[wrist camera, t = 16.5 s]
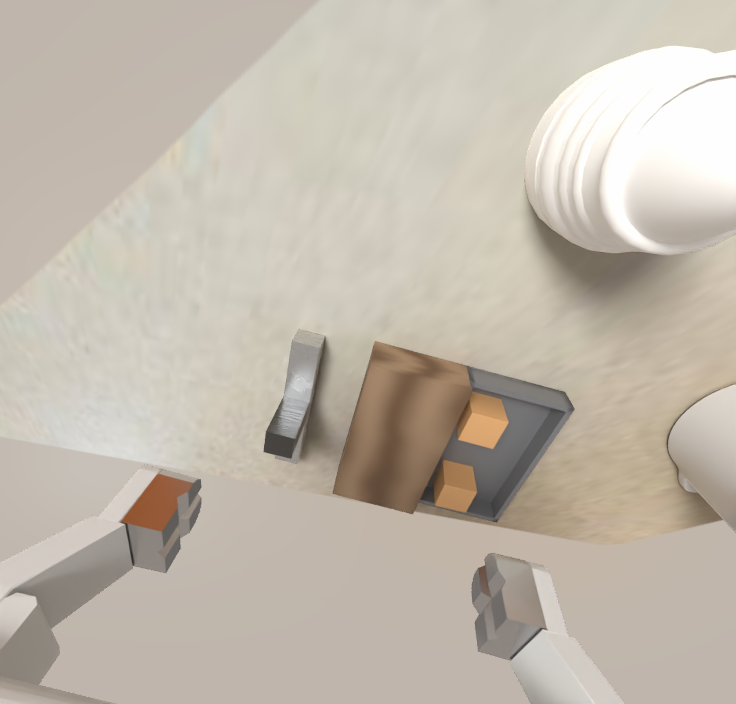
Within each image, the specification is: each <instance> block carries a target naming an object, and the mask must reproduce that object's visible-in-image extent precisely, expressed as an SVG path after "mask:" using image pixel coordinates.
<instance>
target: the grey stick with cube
mask: <svg viewBox="0 0 736 704" xmlns="http://www.w3.org/2000/svg"><path fill="white" fill-rule="evenodd" d="M324 340H325V336H324V335H320V334H316V333H312V332H308V331H304V330H301V329H299V330H298V332H297V333H296V335H295V337H294V338H293V340H292V345H291V351H290V358H289V365H288V372H287V379H286V385H285V392H284V397H283V399H282V401H281V403H280V405H279V407H278V409H277V411H276V413H275V415H274V417H273V419H272V421H271V423H270V425H269V427H268V429H267V431H266V437H265V445H264V452H266V453H270V454H274V455H275V459H279V460H283V461H287V462H291V463H295V464H297V463H298V461H299V458H300V455H301V452H302V449H303V445H304V440H305V435H306V430H307V425H308V420H309V415H310V410H311V405H312V400H313V395H314V390H315V385H316V380H317V375H318V370H319V365H320V360H321V355H322V350H323V345H324Z"/></svg>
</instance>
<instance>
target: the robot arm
mask: <svg viewBox="0 0 736 704" xmlns="http://www.w3.org/2000/svg"><path fill="white" fill-rule="evenodd" d="M668 450H669V454H670V456H671V458H672V460H673V461H674V462H675V464H676V465H677V467H678V469H679V477H678V478H679V483H680V485H681V486H682V487H683V488H684V489H685V490H686V491H688V492H693V493H699V494H700V495H701V496H702V497H703V498H704V499H705V500H706V501H707V503H708V504H709V505H710V506H711V507H712V508H713V509H714V510H715V511H716V512H717V513H718V514H719V515H720V517H721V518H722V519H723V520H724V521H725V522H726V523H727V524H728V525H729V526H730V527H731V528H732V529H733V530H734V531H735V532H736V384H735V385H732V386H729V387H726V388H723V389H721V390H719V391H716V392H714V393H712V394H710V395H708V396H707V397H705V398H703V399H702V400H700V401H699V402H697V403H696V404H694V405H693V406H692V407H690V408H689V409H688V410H687V411H686V412H685V413H684V414H683V415H682V416H681V417H680V418H679V419H678V421H677V422H676V423H675V425H674V427H673V429H672V430H671V433H670V436H669V440H668ZM200 489H201V479H197V478H194V477H190V476H186V475H182V474H179V473H175V472H171V471H167V470H164V469H160V468H157V467H153V466H149V465H144V466H142V467H141V468H140V469H138V470H137V472H136V473H135V474H134V475H133V476H132V477H131V479H130V480H129V481H128V482H127V483H126V485H125V486H124V487H123V488H122V489H121V490H120V491H119V493H118V494H117V495H116V496H115V497H114V499H113V500H112V501H111V502H110V504H109V505H108V506H107V507H106V508H105V509H104V510H103V512H102V513H101V514H100V515H99V517H95V516H91V517H89V518H87V519H85V520H83V521H81V522H79V523H77V524H75V525H73V526H71V527H69V528H67V529H65V530H63V531H61V532H60V533H57V534H56V535H54V536H52V537H50V538H48V539H46V540H44V541H42V542H40V543H38V544H36V545H34V546H32V547H30V548H28V549H26V550H24V551H22V552H20V553H18V554H16V555H14V556H13V557H10V558H9V559H7V560H5V561H3V562H1V563H0V704H114V703H110V702H106V701H102V700H98V699H94V698H90V697H86V696H82V695H77V694H74V693H70V692H66V691H61V690H58V689H53V688H49V687H45V686H41V685H39V684H40V682H41V681H42V679H43V678H44V676H45V675H46V673H47V672H48V670H49V669H50V667H51V666H52V664H53V663H54V661H55V660H56V658H57V657H58V656H59V653H60V651H59V645H58V643H57V641H56V638H55V636H54V634H53V632H52V630H51V628H53V627H54V626H55V625H57V624H58V623H59V622H61V621H62V620H64V619H65V618H66V617H68V616H69V615H70V614H72V613H73V612H74V611H76V610H77V609H78V608H80V607H81V606H82V605H84V604H85V603H87V602H88V601H89V600H91V599H92V598H93V597H95V596H96V595H97V594H99V593H100V592H101V591H103V590H104V589H105V588H107V587H108V586H110V585H111V584H112V583H114V582H115V581H116V580H118V579H119V578H120V577H122V576H123V575H124V574H126V573H127V572H128V571H130V570H131V569H132V568H133V566H136V567H141V568H145V569H150V570H154V571H159V572H163V573H166V572H167V570H168V569H169V567H170V566H171V564H172V562H173V560H174V559H175V557H176V555H177V554H178V552H179V550H180V538H182V537H183V536H185V535H187V534H188V533H190V531H191V529H192V527H193V526H194V524H195V522H196V519H197V517H198V514H199V512H200V508H201V497H200V495H199V494H198V492H199V490H200ZM472 602H473V605H474V607H475V608H476V610H477V612H478V613H479V616H478V618H477V619H476V621H475V629H476V637H477V646H478V651H479V652H482V653H486V654H489V655H493V656H496V657H500V658H503V659H507V660H510V662H509V663H510V665H511V667H512V668H513V670H514V672H515V674H516V676H517V678H518V680H519V682H520V684H521V686H522V687H523V689H524V691H525V693H526V695H527V697H528V699H529V701H530V703H531V704H624V702H623V701H622V700H621V698H620V697H619V696H618V694H617V693H616V692H615V690H614V689H613V688H612V686H611V685H610V684H609V682H608V681H607V680H606V679H605V677H604V676H603V675H602V673H601V672H600V671H599V669H598V668H597V667H596V665H595V664H594V663H593V661H592V660H591V659H590V657H589V656H588V655H587V653H586V652H585V651H584V650H583V648H582V647H581V646H580V644H579V643H578V642H577V640H576V639H575V638H574V637H572V636H569V635H568V632H567V629H566V625H565V622H564V619H563V615H562V612H561V609H560V606H559V602H558V599H557V596H556V592H555V589H554V586H553V583H552V579H551V576H550V573H549V571H548V569H547V568H546V567H545V566H543V565H538V564H534V563H530V562H526V561H524V560H520V559H515V558H512V557H507V556H503V555H499V554H495V553H490V554H488V555H487V556H486V558H485V566H483V567H480V568H478V569H477V571H476V573H475V574H474V578H473V582H472Z"/></svg>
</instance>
